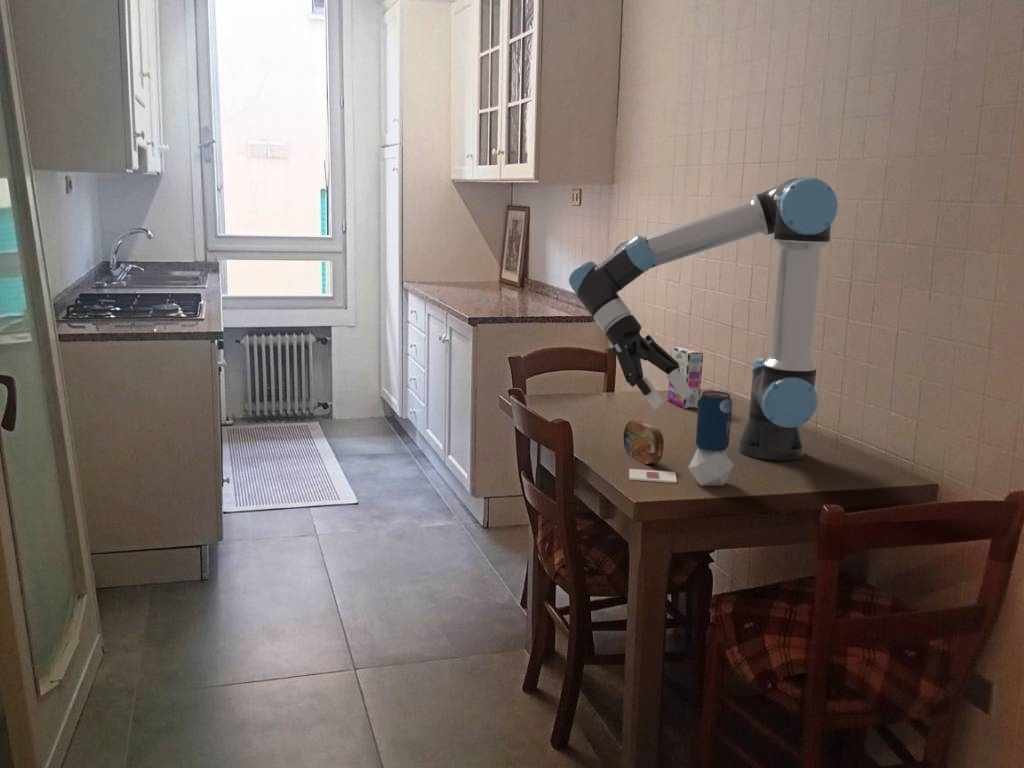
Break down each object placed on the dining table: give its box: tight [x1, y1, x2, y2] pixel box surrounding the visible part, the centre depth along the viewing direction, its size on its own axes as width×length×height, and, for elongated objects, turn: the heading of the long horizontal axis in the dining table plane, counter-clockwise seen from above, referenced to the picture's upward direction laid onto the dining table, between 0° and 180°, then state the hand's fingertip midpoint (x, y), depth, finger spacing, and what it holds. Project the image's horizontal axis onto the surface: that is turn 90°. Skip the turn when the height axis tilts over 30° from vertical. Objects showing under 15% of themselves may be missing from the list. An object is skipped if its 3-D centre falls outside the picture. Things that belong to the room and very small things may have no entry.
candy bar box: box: [667, 346, 704, 410], centre depth 278 cm, size 11×5×16 cm, turn 17°
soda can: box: [695, 390, 733, 453], centre depth 202 cm, size 7×7×12 cm
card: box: [628, 468, 678, 484], centre depth 208 cm, size 10×7×1 cm
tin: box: [622, 420, 665, 465], centre depth 221 cm, size 15×3×8 cm, turn 21°
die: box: [688, 447, 734, 487], centre depth 204 cm, size 8×9×10 cm
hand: (674, 400), depth 207 cm, fingers open, 13 cm apart
